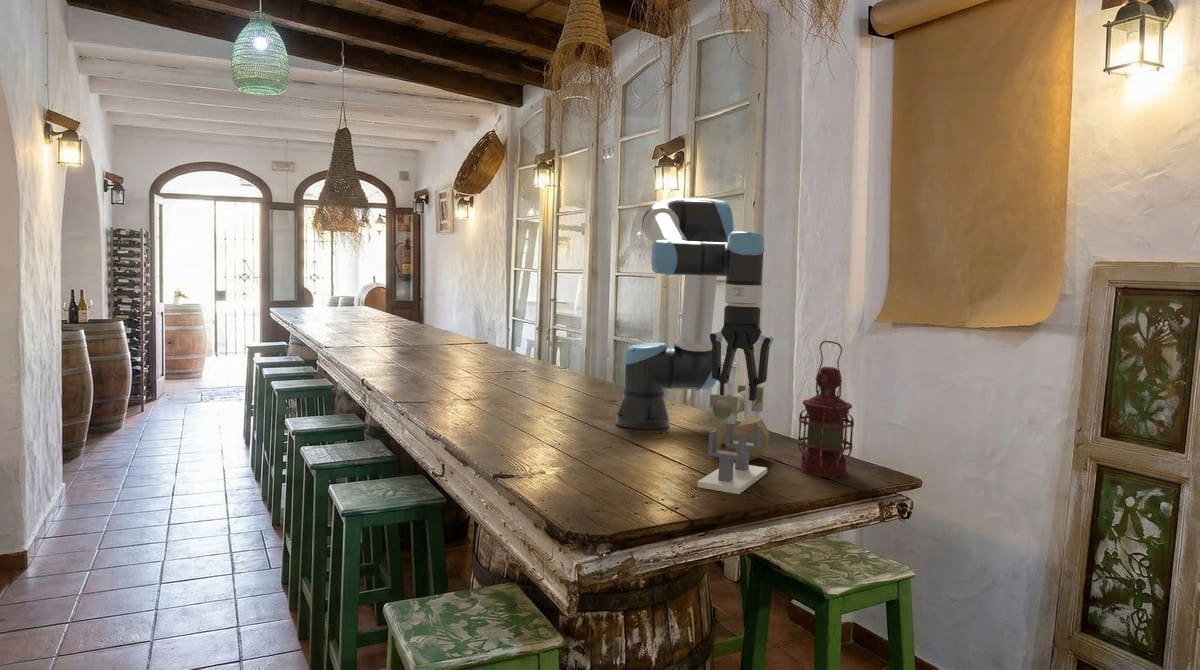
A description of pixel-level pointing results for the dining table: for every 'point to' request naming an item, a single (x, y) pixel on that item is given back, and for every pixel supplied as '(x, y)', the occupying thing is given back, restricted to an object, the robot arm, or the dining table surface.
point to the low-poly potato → (748, 429)
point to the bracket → (730, 473)
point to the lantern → (825, 426)
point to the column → (732, 405)
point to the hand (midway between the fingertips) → (737, 413)
